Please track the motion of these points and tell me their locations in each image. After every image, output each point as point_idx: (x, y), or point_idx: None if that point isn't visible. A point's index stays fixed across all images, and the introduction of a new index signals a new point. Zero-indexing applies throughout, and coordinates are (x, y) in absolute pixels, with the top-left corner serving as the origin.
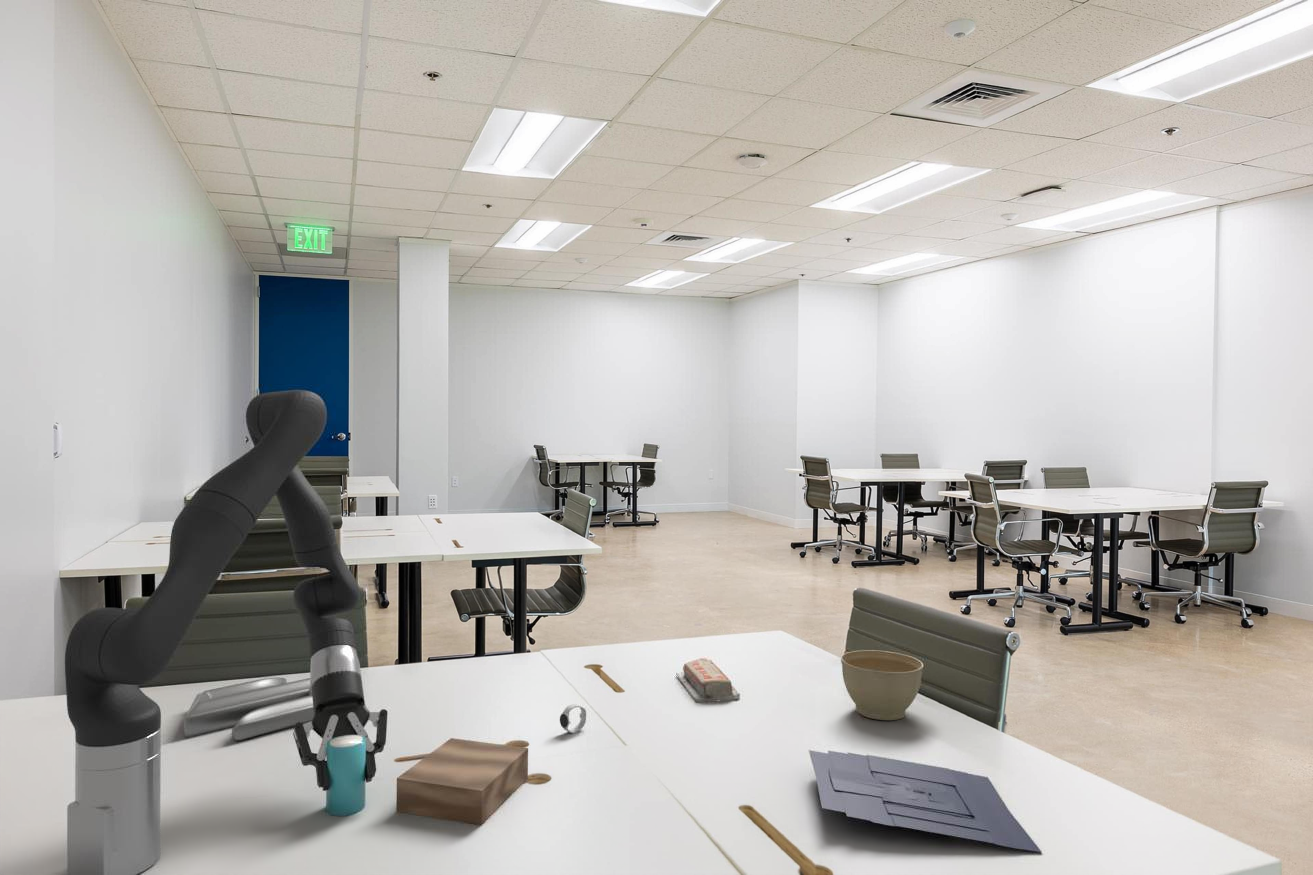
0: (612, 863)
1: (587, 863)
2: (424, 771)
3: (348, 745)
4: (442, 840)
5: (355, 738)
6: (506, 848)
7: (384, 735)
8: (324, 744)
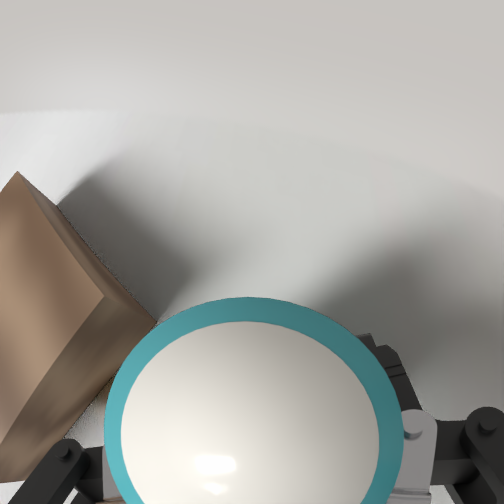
0: (29, 113)
1: (40, 112)
2: (37, 310)
3: (230, 340)
4: (119, 171)
5: (167, 467)
6: (68, 140)
7: (39, 473)
8: (405, 492)
